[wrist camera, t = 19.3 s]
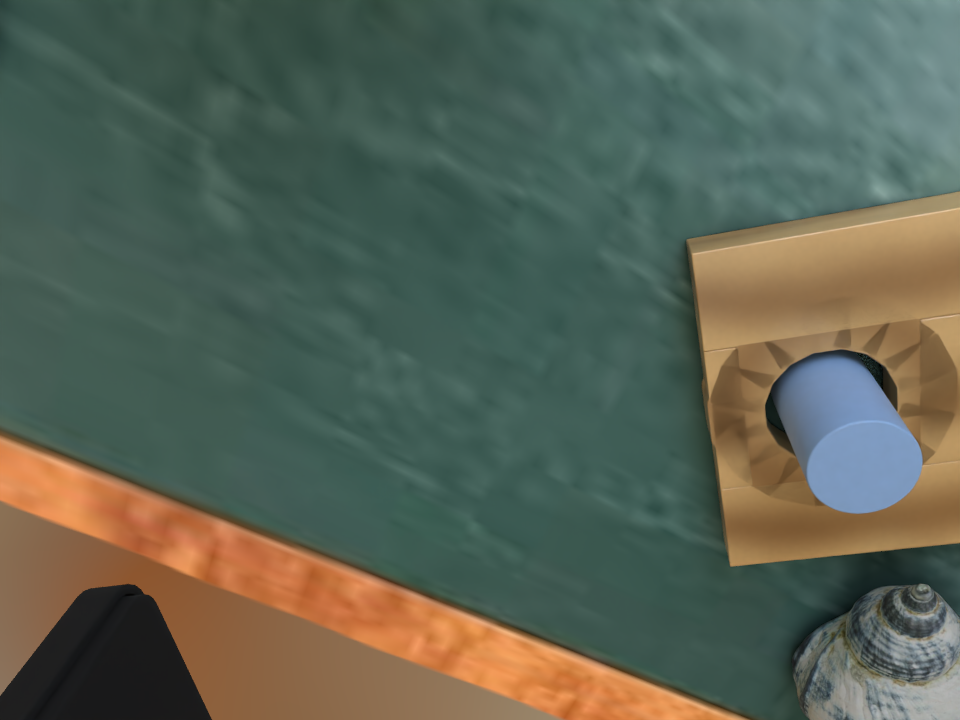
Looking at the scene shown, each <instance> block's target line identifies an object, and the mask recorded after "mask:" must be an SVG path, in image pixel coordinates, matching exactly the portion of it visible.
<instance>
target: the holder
mask: <svg viewBox="0 0 960 720" xmlns="http://www.w3.org/2000/svg"><path fill="white" fill-rule="evenodd" d="M686 243H687V251H688V259H689V267H690V274H691V282H692V290H693V298H694V306H695V314H696V322H697V330H698V338H699V346H700V354H701V361H702V369H703V381H702V392H703V400H704V408H705V416H706V422H707V426H708V430H709V434H710V438H711V441H712V448H713V456H714V464H715V472H716V480H717V487H718V495H719V503H720V511H721V519H722V527H723V535H724V542H725V546H726V550H727V554H728V559H729V563H730V566H741V565H751V564H760V563H770V562H780V561H790V560H799V559H809V558H819V557H828V556H838V555H848V554H858V553H867V552H877V551H887V550H897V549H906V548H916V547H926V546H936V545H945V544H955V543H960V192H954V193H949V194H943V195H937V196H931V197H926V198H920V199H914V200H909V201H903V202H897V203H891V204H886V205H880V206H874V207H868V208H863V209H857V210H851V211H846V212H840V213H834V214H828V215H823V216H817V217H811V218H806V219H800V220H794V221H788V222H783V223H777V224H771V225H766V226H760V227H754V228H748V229H743V230H737V231H731V232H726V233H720V234H714V235H708V236H703V237H697V238H691V239H687V240H686ZM840 349H843V350H848V351H853V352H858V353H863V354H866V355H868V356H869V357H871V358H872V359H874V360H875V361H877V362H878V363H880V364H881V366H882V367H883V392H884V394H885V395H886V397H887V398H888V399H889V401H890V402H891V404H892V405H893V407H894V408H895V410H896V411H897V413H898V414H899V416H900V417H901V419H902V420H903V422H904V423H905V425H906V426H907V428H908V429H909V431H910V432H911V433H912V435H913V436H914V438H915V439H916V441H917V442H918V444H919V446H920V449H921V452H922V459H923V462H922V470H921V474H920V476H919V479H918V481H917V483H916V484H915V486H914V487H913V488H912V490H911V491H910V492H909V493H908V494H907V495H906V496H905V497H904V498H902V499H901V500H900V501H898V502H897V503H895V504H894V505H891V506H889V507H887V508H885V509H882V510H879V511H875V512H871V513H862V514H854V513H846V512H841V511H838V510H835V509H833V508H830V507H829V506H827V505H825V504H824V503H822V502H821V501H819V500H818V499H817V498H816V497H815V495H814V494H813V493H812V491H811V490H810V488H809V486H808V483H807V481H806V479H805V476H804V474H803V471H802V469H801V467H800V464H799V462H798V459H797V457H796V455H795V452H794V450H793V448H792V445H791V443H790V440H789V438H788V436H787V434H785V433H784V432H782V431H781V430H779V429H778V428H776V427H775V426H773V425H772V424H770V422H769V421H768V419H767V418H766V411H765V404H766V401H767V398H768V396H769V393H770V390H771V388H772V385H773V383H774V382H775V381H776V380H777V379H778V378H779V377H780V376H781V375H782V374H783V372H784V371H785V370H786V369H787V368H788V367H789V366H790V365H792V364H794V363H796V362H798V361H800V360H801V359H803V358H805V357H807V356H809V355H811V354H813V353H820V352H826V351H833V350H840Z"/></svg>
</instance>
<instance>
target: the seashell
mask: <svg viewBox="0 0 960 720" xmlns="http://www.w3.org/2000/svg"><path fill="white" fill-rule="evenodd" d="M792 667H793V677H794V680H795V682H796V688H797V694H798V699H799V704H800V708H801V710H802V711H803V713H804V714H805V715H806V716H807V717H808V718H809V719H810V720H960V617H959V616H958V615H957V614H956V612H955V611H954V610H953V609H952V608H951V607H950V606H949V604H948V603H946V602H945V601H944V599H943V598H942V597H941V596H940V595H939V594H938V593H937V592H935V591H934V590H933V589H932V588H930V586H928V585H926V584H917V585H900V586H896V585H893V586H884V587H879V588H875V589H873V590H871V591H870V592H869V593H867V594H865V595H864V596H862V597H860V598H859V599H858V600H857V601H856V602H855V603H854V606H853V608H852V609H851V610H850V611H848V612H846V613H845V614H843V615H841V616H839V617H837V618H835V619H833V620H831V621H829V622H827V623H825V624H823V625H821V626H820V627H818V628H817V629H816V630H815V631H813V632H812V633H811V634H810V635H808V636H807V637H806V638H805V640H804V641H803V642H802V643H801V645H800V646H799V647H798V649H797V650H796V652H795V654H794V656H793V658H792Z"/></svg>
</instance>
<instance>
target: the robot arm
mask: <svg viewBox="0 0 960 720" xmlns="http://www.w3.org/2000/svg"><path fill="white" fill-rule="evenodd" d="M0 720H212V719H211V717H210V715H209V713H208V711H207V709H206V706H205V704H204V702H203V700H202V698H201V696H200V694H199V692H198V690H197V688H196V685H195V683H194V681H193V679H192V677H191V675H190V673H189V671H188V669H187V667H186V664H185V662H184V660H183V658H182V656H181V654H180V652H179V650H178V648H177V646H176V643H175V641H174V639H173V637H172V635H171V633H170V631H169V629H168V627H167V624H166V622H165V621H164V618H163V616H162V614H161V612H160V610H159V608H158V606H157V604H156V602H155V600H154V599H153V598H152V597H151V596H149V595H144V593H143V592H142V590H141V589H140V588H138V587H137V586H135V585H130V584H126V585H117V586H109V587H100V588H91V589H88V590H85V591H83V592H82V593H81V594H80V595H79V596H78V597H77V598H76V599H75V601H74V602H73V603H72V605H71V606H70V607H69V608H68V610H67V611H66V612H65V614H64V615H63V616H62V617H61V619H60V620H59V621H58V622H57V624H56V625H55V626H54V628H53V629H52V630H51V631H50V633H49V634H48V635H47V637H46V638H45V639H44V641H43V642H42V643H41V644H40V646H39V647H38V648H37V649H36V651H35V652H34V653H33V655H32V656H31V657H30V658H29V660H28V661H27V662H26V664H25V665H24V666H23V668H22V669H21V670H20V671H19V673H18V674H17V675H16V676H15V678H14V679H13V680H12V682H11V683H10V684H9V685H8V687H7V688H6V689H5V691H4V692H3V693H2V694H1V696H0Z"/></svg>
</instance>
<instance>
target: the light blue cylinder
mask: <svg viewBox="0 0 960 720" xmlns="http://www.w3.org/2000/svg"><path fill="white" fill-rule="evenodd" d="M771 395H772V399H773V402H774V405H775V407H776V409H777V412H778V414H779V417H780V419H781V421H782V424H783V426H784V428H785V431H786V433H787V436H788V438H789V440H790V443H791V445H792V448H793V450H794V452H795V455H796V457H797V459H798V462H799V464H800V467H801V469H802V471H803V474H804V476H805V479H806V481H807V483H808V486H809V488H810V490H811V491H812V493H813V494H814V495H815V497H816V498H817V499H818V500H819V501H821V502H822V503H824V504H825V505H827V506H829V507H830V508H833V509H835V510H838V511H841V512H846V513H854V514H862V513H871V512H875V511H879V510H882V509H885V508H887V507H889V506H891V505H894V504H895V503H897V502H898V501H900V500H901V499H902V498H904V497H905V496H906V495H907V494H908V493H909V492H910V491H911V490H912V488H913V487H914V486H915V484H916V483H917V481H918V479H919V476H920V474H921V470H922V462H923V459H922V452H921V449H920V446H919V444H918V442H917V441H916V439H915V438H914V436H913V435H912V433H911V432H910V431H909V429H908V428H907V426H906V425H905V423H904V422H903V420H902V419H901V417H900V416H899V414H898V413H897V411H896V410H895V408H894V407H893V405H892V404H891V402H890V401H889V399H888V398H887V397H886V395H885V394H884V392H883V391H882V389H881V388H880V386H879V385H878V383H877V382H876V380H875V379H874V377H873V376H872V374H871V373H870V371H869V370H868V368H867V367H866V366H865V364H864V363H863V361H862V360H861V358H860V357H859V356H858V355H857V354H856V353H854V352H853V351H848V350H843V349H840V350H833V351H826V352H820V353H813V354H811V355H809V356H807V357H805V358H803V359H801V360H800V361H798V362H796V363H794V364H792V365H790V366H789V367H788V368H787V369H786V370H785V371H784V372H783V374H782V375H781V376H780V377H779V378H778V379H777V380H776V381H775V382H774V383H773V385H772V388H771Z"/></svg>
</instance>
